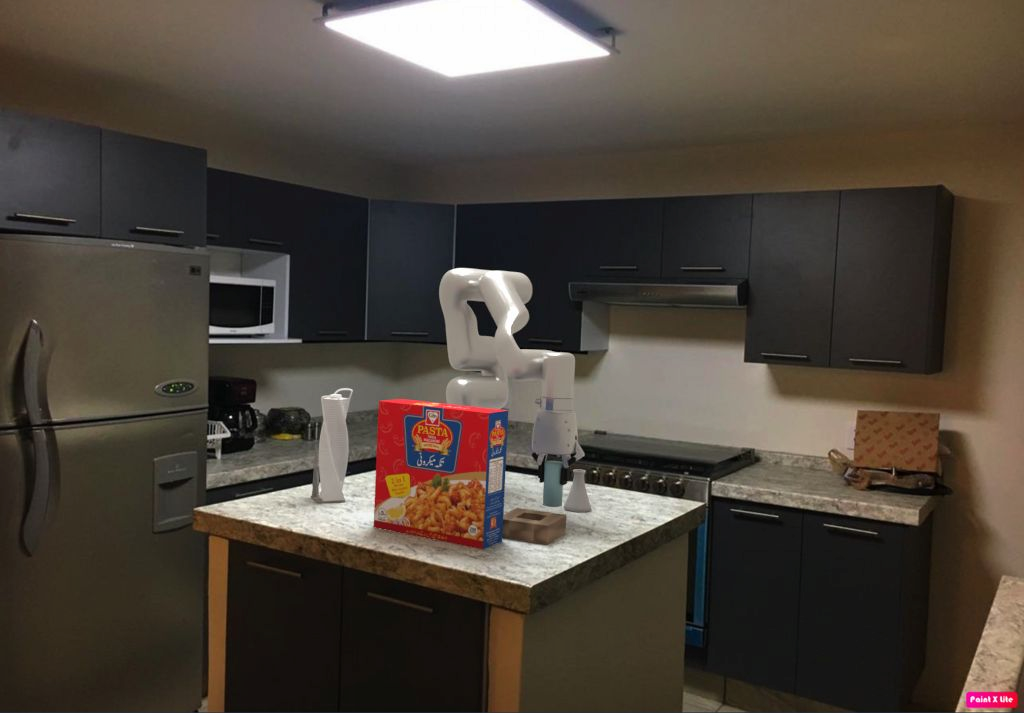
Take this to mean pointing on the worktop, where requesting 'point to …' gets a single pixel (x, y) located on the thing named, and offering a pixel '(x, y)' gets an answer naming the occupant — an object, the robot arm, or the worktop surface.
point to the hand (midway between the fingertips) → (553, 482)
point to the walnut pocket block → (533, 525)
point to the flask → (578, 494)
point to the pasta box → (441, 471)
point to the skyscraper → (332, 450)
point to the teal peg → (552, 484)
